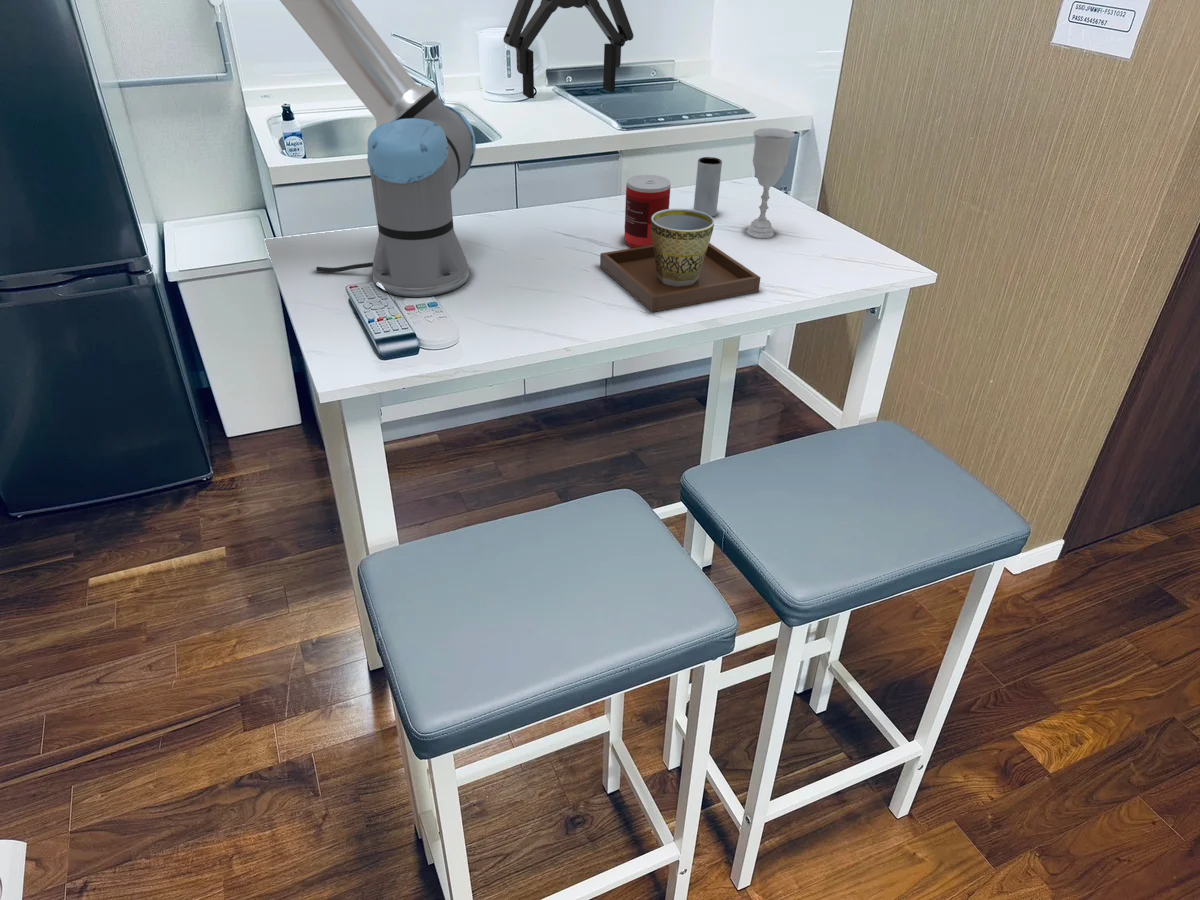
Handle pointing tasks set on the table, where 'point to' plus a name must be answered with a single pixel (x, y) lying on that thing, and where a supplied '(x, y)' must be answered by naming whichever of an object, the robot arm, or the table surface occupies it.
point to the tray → (713, 283)
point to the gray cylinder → (707, 185)
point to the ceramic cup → (680, 244)
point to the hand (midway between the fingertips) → (569, 93)
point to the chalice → (768, 171)
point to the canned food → (644, 207)
